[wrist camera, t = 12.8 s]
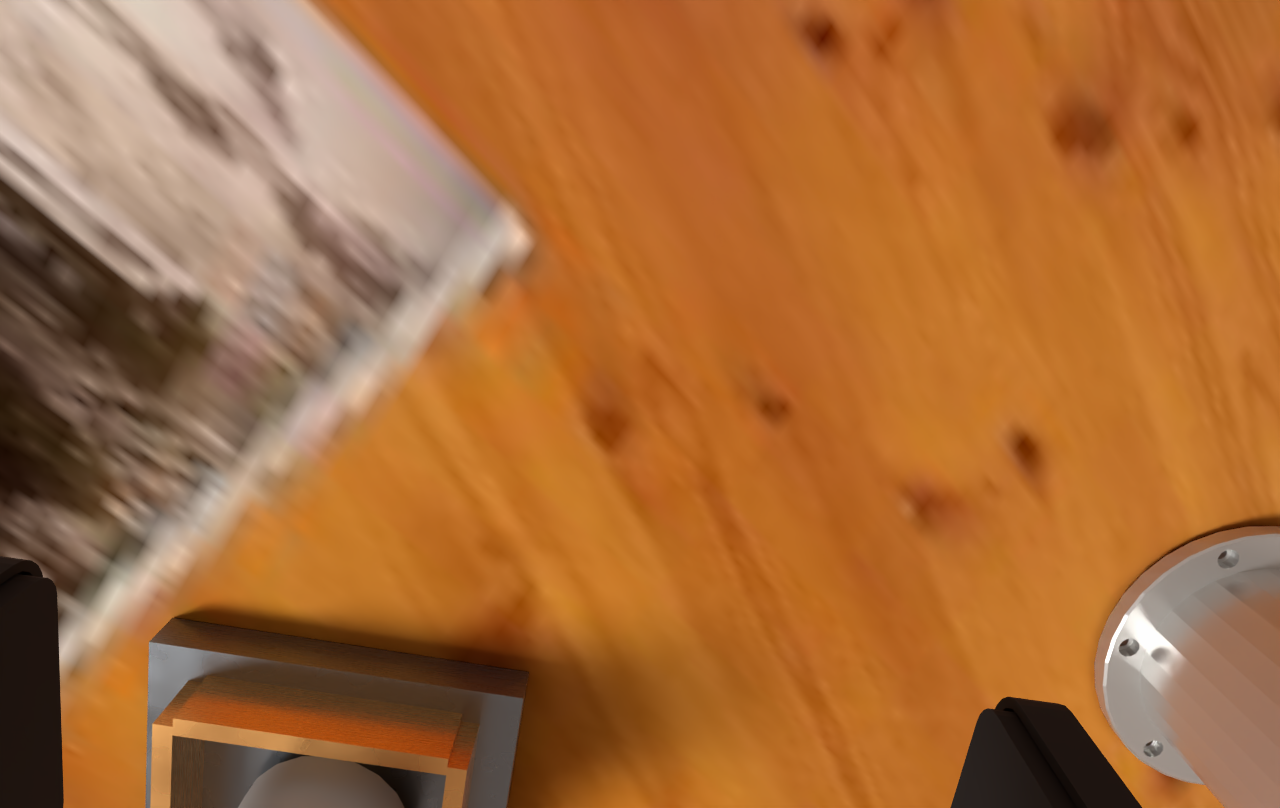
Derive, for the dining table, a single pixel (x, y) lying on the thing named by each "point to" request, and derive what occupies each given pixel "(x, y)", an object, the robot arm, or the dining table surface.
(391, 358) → the dining table surface
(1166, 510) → the dining table surface
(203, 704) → the open square box
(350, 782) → the can
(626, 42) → the dining table surface
